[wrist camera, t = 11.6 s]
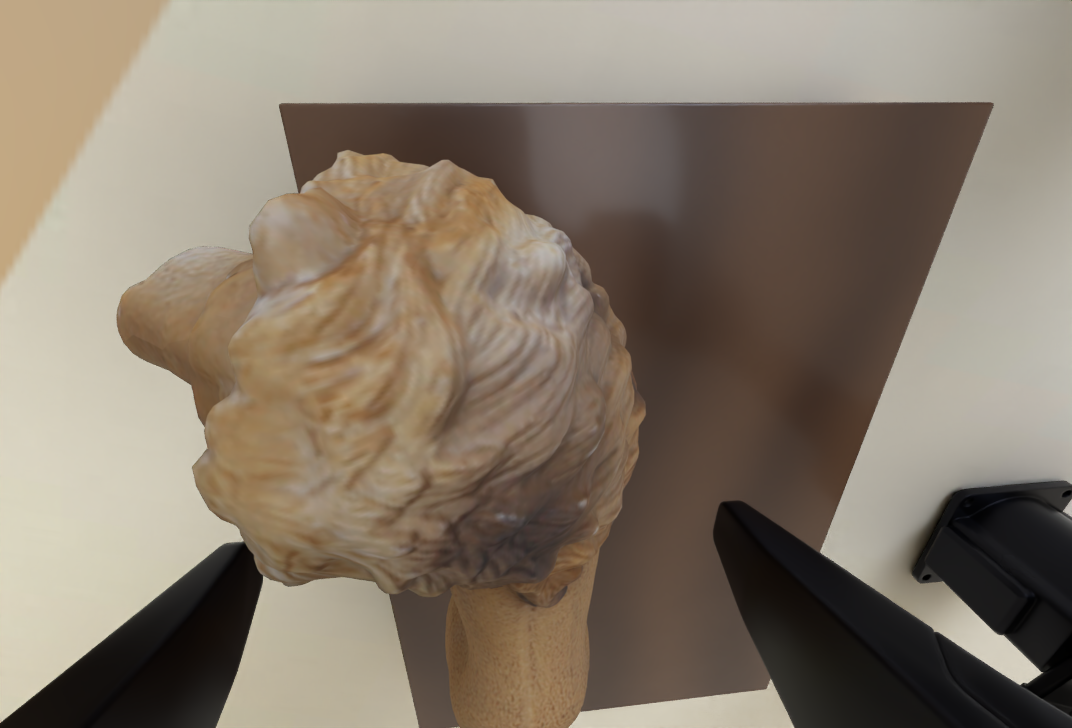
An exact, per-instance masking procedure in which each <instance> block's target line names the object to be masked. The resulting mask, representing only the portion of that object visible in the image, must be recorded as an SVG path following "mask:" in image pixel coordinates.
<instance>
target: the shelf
mask: <svg viewBox="0 0 1072 728" xmlns="http://www.w3.org/2000/svg"><path fill="white" fill-rule="evenodd" d="M993 106H994V104H993V103H991V102H903V103H281V104H280V105H279V109H280V113H281V117H282V122H283V126H284V131H285V135H286V139H287V144H288V148H289V153H290V157H291V162H292V166H293V170H294V175H295V179H296V184H297V188H298V193H300V192H301V188H302V186H303V185H305V184H306V183H307V182H308V181H312V180H313V179H314V178H315V177H316V176H317V174H319V173H321V172H323V171H325V170H327V169H329V168H331V167H332V166H333V164H334V163H335V161H336V160H337V154H338V153H339V152H343V151H346V150H350V151H353V152H356V153H359V154H362V155H374V154H381V153H384V154H388V155H392V156H393V157H394V158H395V159H397V160H398V161H399V162H404V163H412V164H420V165H425V166H428V167H431V166H432V165H434V164H436V163H438V162H439V161H441V160H450V161H451V162H452V163H454V164H455V165H457V166H458V167H460V168H462V169H465V170H466V171H468V172H470V173H472V174H474V175H475V176H477V177H482V178H489V179H493V180H494V182H495V184H496V185H497V187H498V189H499V190H500V192H501V193H502V194H503V196H504V197H505V198H506V199H507V200H508V201H509V202H510V203H512V204H513V205H514V206H516V207H517V208H519V209H520V210H522V211H523V212H524V214H528V215H534V216H537V217H540V218H542V219H544V220H546V221H547V222H549V223H550V224H551V226H552V227H553V228H555V229H557V230H560V231H563V232H564V233H565V234H566V235H567V237H568V238H569V239H570V240H571V244H572V247H573V248H574V249H575V250H576V251H577V252H578V253H579V254H580V255H581V256H582V257H583V258H584V259H585V260H586V262H587V263H588V264H589V267H590V270H591V278H592V282H593V283H594V284H597V285H599V286H601V287H603V288H604V289H605V291H606V293H607V294H608V296H609V305H610V307H611V309H612V311H613V313H614V315H615V316H616V317H617V318H618V319H619V320H620V321H621V322H622V324H623V326H624V327H625V330H626V335H627V339H626V345H625V349H626V350H627V351H628V352H629V354H630V356H631V363H632V369H631V370H632V372H633V375H634V378H635V381H636V385H637V391H638V392H639V394H640V395H641V396H642V398H643V399H644V401H645V404H646V415H645V417H644V419H643V421H642V422H641V424H640V425H639V436H638V446H639V455H638V459H637V462H636V464H635V467H634V470H633V472H632V475H631V477H630V480H629V482H628V483H627V485H626V486H625V488H624V489H623V492H622V508H621V510H620V512H619V514H618V515H617V517H616V518H615V521H614V522H613V524H612V525H611V528H610V532H609V535H608V537H607V539H606V540H605V541H604V543H603V544H602V545H601V547H600V549H599V556H598V562H597V567H596V572H595V578H594V584H593V590H592V595H591V600H590V605H589V611H588V616H587V627H588V635H589V649H590V657H589V671H588V679H587V688H586V693H585V698H584V703H583V706H582V708H581V711H580V712H583V711H591V710H599V709H607V708H615V707H623V706H632V705H640V704H648V703H656V702H664V701H672V700H681V699H689V698H697V697H705V696H713V695H722V694H730V693H738V692H746V691H754V690H762V689H767V686H768V684H769V681H770V679H771V678H770V675H769V673H768V671H767V669H766V667H765V665H764V663H763V661H762V659H761V657H760V655H759V653H758V651H757V648H756V646H755V644H754V642H753V640H752V638H751V636H750V634H749V632H748V630H747V628H746V625H745V623H744V621H743V619H742V617H741V614H740V611H739V609H738V606H737V604H736V601H735V598H734V596H733V593H732V590H731V587H730V585H729V582H728V579H727V576H726V574H725V571H724V568H723V565H722V563H721V560H720V557H719V554H718V552H717V549H716V546H715V543H714V540H713V528H714V524H715V519H716V515H717V511H718V507H719V504H720V503H721V502H723V501H734V500H740V501H743V502H745V503H747V504H748V505H750V506H751V507H753V508H754V509H756V510H757V511H758V512H760V513H761V514H763V515H764V516H766V517H767V518H769V519H770V520H772V521H773V522H775V523H776V524H778V525H779V526H781V527H782V528H784V529H785V530H787V531H788V532H790V533H791V534H793V535H794V536H796V537H797V538H799V539H800V540H802V541H803V542H805V543H806V544H808V545H809V546H811V547H812V548H814V549H815V550H817V551H818V552H819V553H820V550H821V548H822V545H823V543H824V540H825V537H826V535H827V532H828V530H829V527H830V525H831V522H832V519H833V517H834V514H835V512H836V509H837V507H838V504H839V501H840V499H841V496H842V494H843V491H844V489H845V486H846V483H847V481H848V478H849V476H850V473H851V471H852V468H853V466H854V463H855V460H856V458H857V455H858V453H859V450H860V448H861V445H862V442H863V440H864V437H865V435H866V432H867V430H868V427H869V424H870V422H871V419H872V417H873V414H874V412H875V409H876V406H877V404H878V401H879V399H880V396H881V394H882V391H883V388H884V386H885V383H886V381H887V378H888V376H889V373H890V370H891V368H892V365H893V363H894V360H895V358H896V355H897V352H898V350H899V347H900V345H901V342H902V340H903V337H904V334H905V332H906V329H907V327H908V324H909V322H910V319H911V317H912V314H913V311H914V309H915V306H916V304H917V301H918V299H919V296H920V293H921V291H922V288H923V286H924V283H925V281H926V278H927V275H928V273H929V270H930V268H931V265H932V263H933V260H934V257H935V255H936V252H937V250H938V247H939V245H940V242H941V239H942V237H943V234H944V232H945V229H946V227H947V224H948V221H949V219H950V216H951V214H952V211H953V209H954V206H955V203H956V201H957V198H958V196H959V193H960V191H961V188H962V186H963V183H964V180H965V178H966V175H967V173H968V170H969V168H970V165H971V162H972V160H973V157H974V155H975V152H976V150H977V147H978V144H979V142H980V139H981V137H982V134H983V132H984V129H985V126H986V124H987V121H988V119H989V116H990V114H991V111H992V108H993ZM389 595H390V600H391V604H392V609H393V613H394V618H395V622H396V626H397V631H398V635H399V640H400V644H401V649H402V653H403V657H404V662H405V666H406V671H407V675H408V680H409V684H410V688H411V693H412V697H413V702H414V706H415V711H416V715H417V719H418V724H419V728H452V727H459V725H458V723H457V720H456V718H455V715H454V712H453V709H452V704H451V698H450V685H449V669H448V664H447V659H446V647H445V633H446V617H447V611H448V606H449V602H450V599H451V596H452V593H451V590H450V589H449V590H447V591H446V592H445V593H443V594H441V595H439V596H437V597H422V596H419V595H417V594H416V593H414V592H412V591H410V590H409V589H407V590H405V591H403V592H401V593H399V594H389Z"/></svg>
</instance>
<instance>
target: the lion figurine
mask: <svg viewBox="0 0 1072 728" xmlns="http://www.w3.org/2000/svg"><path fill="white" fill-rule="evenodd" d="M249 240H250V243H251V247H252V250H253V254H251V253H246V252H241V251H236V250H232V249H227V248H221V247H207V246H202V247H197V248H192V249H188V250H186V251H184V252H182V253H180V254H178V255H176V256H174V257H172V258H171V259H169V260H168V261H167V262H165V263H164V264H163V265H162V266H160V267H159V268H158V269H157V270H156V271H155V272H154V273H153V274H152V275H151V276H150V277H148V278H147V279H146V280H144V281H142V282H140V283H137V284H135V285H133V286H131V287H129V288H128V290H127V291H126V292H125V293H124V294H123V295H122V297H121V300H120V303H119V306H118V310H117V327H118V331H119V334H120V336H121V338H122V340H123V343H124V344H125V345H126V346H127V347H128V348H129V349H130V351H131V352H132V353H133V354H135V355H136V356H138V357H139V358H141V359H143V360H145V361H147V362H149V363H152V364H154V365H157V366H159V367H162V368H164V369H167V370H169V371H171V372H172V373H173V374H175V375H176V376H178V377H179V378H181V379H183V380H184V381H186V382H187V383H189V384H190V385H191V386H192V390H193V394H194V400H195V405H196V409H197V413H198V417H199V419H200V420H201V422H202V423H203V425H204V427H205V430H204V432H205V439H206V443H207V447H208V449H207V450H206V451H205V452H204V453H203V455H202V456H201V457H200V458H199V459H198V461H197V462H196V463H195V464H194V465H193V466H192V469H193V474H194V478H195V482H196V487H197V488H198V490H199V492H200V494H201V496H202V498H203V499H204V501H205V503H206V505H207V507H208V508H209V510H210V511H212V512H213V513H214V514H215V515H216V516H218V517H219V518H220V519H222V520H224V521H226V522H229V523H231V524H234V525H236V526H237V527H238V528H239V529H240V534H241V536H242V538H243V540H244V542H245V544H246V545H247V547H248V549H249V550H250V551H251V552H252V553H253V554H254V560H255V563H256V566H257V569H258V571H259V572H260V574H262V575H264V576H265V577H267V578H269V579H270V580H274V581H278V582H282V583H283V584H284V585H285V586H288V587H290V586H298V585H303V584H305V583H308V582H310V581H313V580H317V579H325V578H336V577H347V578H353V579H360V580H366V581H373V582H376V584H377V586H378V587H379V588H380V589H381V590H382V591H383V592H384V593H388V594H399V593H401V592H403V591H405V590H407V589H409V590H410V591H412V592H414V593H416V594H417V595H419V596H422V597H437V596H439V595H441V594H443V593H445V592H446V591H447V590H449V589H450V590H451V593H452V596H451V599H450V602H449V606H448V611H447V617H446V633H445V647H446V659H447V664H448V669H449V685H450V698H451V704H452V709H453V712H454V715H455V718H456V720H457V723H458V725H459V727H460V728H568V727H569V726H570V725H571V724H572V723H573V722H574V721H575V719H576V718H577V716H578V714H579V713H580V711H581V708H582V706H583V703H584V698H585V693H586V688H587V679H588V671H589V657H590V649H589V635H588V627H587V616H588V611H589V605H590V600H591V595H592V590H593V584H594V578H595V572H596V567H597V562H598V556H599V549H600V547H601V545H602V544H603V543H604V541H605V540H606V539H607V537H608V535H609V532H610V528H611V525H612V524H613V522H614V521H615V518H616V517H617V515H618V514H619V512H620V510H621V508H622V492H623V489H624V488H625V486H626V485H627V483H628V482H629V480H630V477H631V475H632V472H633V470H634V467H635V464H636V462H637V459H638V455H639V446H638V436H639V425H640V424H641V422H642V421H643V419H644V417H645V415H646V404H645V401H644V399H643V398H642V396H641V395H640V394H639V392H638V391H637V385H636V381H635V378H634V375H633V372H632V370H631V369H632V363H631V356H630V354H629V352H628V351H627V350H626V349H625V345H626V339H627V335H626V330H625V327H624V326H623V324H622V322H621V321H620V320H619V319H618V318H617V317H616V316H615V315H614V313H613V311H612V309H611V307H610V305H609V296H608V294H607V293H606V291H605V289H604V288H603V287H601V286H599V285H597V284H594V283H593V282H592V278H591V270H590V267H589V264H588V263H587V262H586V260H585V259H584V258H583V257H582V256H581V255H580V254H579V253H578V252H577V251H576V250H575V249H574V248H573V247H572V244H571V240H570V239H569V238H568V237H567V235H566V234H565V233H564V232H563V231H560V230H557V229H555V228H553V227H552V226H551V224H550V223H549V222H547V221H546V220H544V219H542V218H540V217H537V216H534V215H528V214H524V212H523V211H522V210H520V209H519V208H517V207H516V206H514V205H513V204H512V203H510V202H509V201H508V200H507V199H506V198H505V197H504V196H503V194H502V193H501V192H500V190H499V189H498V187H497V185H496V184H495V182H494V180H493V179H489V178H482V177H477V176H475V175H474V174H472V173H470V172H468V171H466V170H465V169H462V168H460V167H458V166H457V165H455V164H454V163H452V162H451V161H450V160H441V161H439V162H438V163H436V164H434V165H432V166H431V167H428V166H425V165H420V164H412V163H404V162H399V161H398V160H397V159H395V158H394V157H393V156H392V155H388V154H384V153H381V154H374V155H362V154H359V153H356V152H353V151H350V150H346V151H343V152H339V153H338V154H337V160H336V161H335V163H334V164H333V166H332V167H331V168H329V169H327V170H325V171H323V172H321V173H319V174H317V176H316V177H315V178H314V179H313V180H312V181H308V182H307V183H306V184H305V185H303V186H302V188H301V192H300V193H298V194H285V195H282V196H279V197H276V198H273V199H271V200H268V202H267V203H266V204H265V206H264V207H263V208H262V210H261V211H260V212H259V214H258V215H257V216H256V218H255V219H254V221H253V222H252V223H251V225H250V228H249Z"/></svg>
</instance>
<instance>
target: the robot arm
mask: <svg viewBox="0 0 1072 728" xmlns="http://www.w3.org/2000/svg"><path fill="white" fill-rule="evenodd" d="M1071 499H1072V484H1070V483H1068V482H1067V481H1055V482H1043V483H1031V484H1020V485H1008V486H996V487H984V488H972V489H964V490H961V491H958V492H957V493H956V494H954V496H953V497H952V499H951V501H950V503H949V504H948V506H947V508H946V510H945V512H944V514H943V516H942V518H941V519H940V521H939V523H938V525H937V527H936V529H935V531H934V533H933V534H932V536H931V538H930V540H929V542H928V544H927V546H926V548H925V549H924V551H923V553H922V555H921V557H920V559H919V561H918V563H917V564H916V566H915V568H914V570H913V572H912V576H913V577H914V578H915V579H916V580H917V581H918V582H919V583H932V582H941V581H943V582H944V583H945V584H946V585H947V586H948V587H949V588H950V589H951V590H952V591H953V592H954V593H955V594H957V595H958V596H959V597H960V598H961V599H962V600H963V601H964V602H965V603H966V604H967V605H968V606H969V607H970V608H971V609H972V610H973V611H974V612H975V613H976V614H977V615H978V616H979V617H980V618H981V619H982V620H983V621H984V622H985V623H986V624H987V625H988V626H989V627H990V628H991V629H992V630H993V631H994V632H995V633H997V634H999V635H1004V636H1005V637H1006V638H1007V639H1008V640H1009V641H1010V642H1011V643H1012V644H1013V645H1014V646H1015V647H1016V648H1017V649H1018V650H1019V651H1020V652H1021V653H1023V654H1024V655H1025V656H1026V657H1027V658H1028V659H1029V660H1030V661H1031V662H1032V663H1033V664H1034V665H1035V666H1036V667H1037V668H1038V669H1039V670H1040V671H1041V672H1043V673H1042V674H1041V675H1039V676H1038V677H1036V678H1035V679H1033V680H1032V681H1030V682H1029V683H1028V684H1027V683H1022V684H1021V685H1019V684H1017V683H1015V682H1014V681H1012V680H1010V679H1009V678H1007V677H1006V676H1004V675H1002V674H1001V673H999V672H998V671H996V670H995V669H993V668H992V667H990V666H989V665H987V664H986V663H984V662H982V661H981V660H979V659H978V658H976V657H975V656H973V655H972V654H970V653H969V652H967V651H966V650H964V649H963V648H961V647H960V646H958V645H957V644H955V643H954V642H952V641H951V640H949V639H948V638H946V637H945V636H943V635H942V634H940V633H939V632H934V630H933V629H932V628H931V627H930V626H928V625H927V624H925V623H924V622H922V621H921V620H919V619H918V618H916V617H915V616H913V615H912V614H910V613H909V612H907V611H906V610H904V609H903V608H901V607H900V606H898V605H897V604H895V603H894V602H892V601H891V600H889V599H888V598H886V597H885V596H883V595H882V594H880V593H879V592H878V591H876V590H875V589H873V588H872V587H870V586H869V585H867V584H866V583H864V582H863V581H861V580H860V579H858V578H857V577H855V576H854V575H852V574H851V573H849V572H848V571H846V570H845V569H843V568H842V567H840V566H839V565H837V564H836V563H834V562H833V561H831V560H830V559H828V558H827V557H825V556H824V555H822V554H821V553H819V552H818V551H817V550H815V549H814V548H812V547H811V546H809V545H808V544H806V543H805V542H803V541H802V540H800V539H799V538H797V537H796V536H794V535H793V534H791V533H790V532H788V531H787V530H785V529H784V528H782V527H781V526H779V525H778V524H776V523H775V522H773V521H772V520H770V519H769V518H767V517H766V516H764V515H763V514H761V513H760V512H758V511H757V510H756V509H754V508H753V507H751V506H750V505H748V504H747V503H745V502H743V501H740V500H734V501H723V502H721V503H720V504H719V507H718V511H717V515H716V519H715V524H714V528H713V540H714V543H715V546H716V549H717V552H718V554H719V557H720V560H721V563H722V565H723V568H724V571H725V574H726V576H727V579H728V582H729V585H730V587H731V590H732V593H733V596H734V598H735V601H736V604H737V606H738V609H739V611H740V614H741V617H742V619H743V621H744V623H745V625H746V628H747V630H748V632H749V634H750V636H751V638H752V640H753V642H754V644H755V646H756V648H757V651H758V653H759V655H760V657H761V659H762V661H763V663H764V665H765V667H766V669H767V671H768V673H769V675H770V678H771V680H772V682H773V684H774V686H775V688H776V690H777V692H778V694H779V696H780V698H781V700H782V702H783V704H784V707H785V709H786V711H787V713H788V715H789V717H790V719H791V721H792V723H793V725H794V727H795V728H1072V517H1071V516H1069V515H1068V514H1066V513H1065V512H1063V510H1064V509H1065V508H1066V506H1067V505H1068V503H1069V502H1070V500H1071ZM262 583H263V575H262V574H260V572H259V571H258V569H257V566H256V563H255V560H254V554H253V553H252V552H251V551H250V550H249V549H248V547H247V545H246V544H245V542H234V543H226V544H224V545H222V546H220V547H219V548H218V549H216V550H215V551H214V552H213V553H211V554H210V555H209V556H208V557H206V558H205V559H204V560H203V561H201V562H200V563H199V564H198V565H196V566H195V567H194V568H193V569H191V570H190V571H189V572H188V573H187V574H185V575H184V576H183V577H182V578H180V579H179V580H178V581H177V582H175V583H174V584H173V585H172V586H170V587H169V588H168V589H167V590H165V591H164V592H163V593H162V594H160V595H159V596H158V597H157V598H155V599H154V600H153V601H152V602H150V603H149V604H148V605H147V606H145V607H144V608H143V609H142V610H140V611H139V612H138V613H137V614H135V615H134V616H133V617H132V618H130V619H129V620H128V621H127V622H125V623H124V624H123V625H122V626H120V627H119V628H118V629H117V630H116V631H114V632H113V633H112V634H111V635H109V636H108V637H107V638H106V639H104V640H103V641H102V642H101V643H99V644H98V645H97V646H96V647H94V648H93V649H92V650H91V651H89V652H88V653H87V654H86V655H84V656H83V657H82V658H81V659H79V660H78V661H77V662H76V663H74V664H73V665H72V666H71V667H69V668H68V669H67V670H66V671H64V672H63V673H62V674H61V675H59V676H58V677H57V678H56V679H54V680H53V681H52V682H51V683H49V684H48V685H47V686H46V687H45V688H43V689H42V690H41V691H40V692H38V693H37V694H36V695H35V696H33V697H32V698H31V699H30V700H28V701H27V702H26V703H25V704H23V705H22V706H21V707H20V708H18V709H17V710H16V711H15V712H13V713H12V714H11V715H10V716H8V717H7V718H6V719H5V720H3V721H2V722H1V723H0V728H216V726H217V723H218V721H219V718H220V715H221V713H222V710H223V708H224V705H225V703H226V700H227V698H228V695H229V693H230V690H231V687H232V685H233V682H234V679H235V677H236V674H237V671H238V668H239V664H240V661H241V658H242V655H243V651H244V648H245V644H246V640H247V637H248V633H249V630H250V626H251V623H252V619H253V616H254V612H255V609H256V605H257V602H258V598H259V594H260V591H261V587H262Z"/></svg>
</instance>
